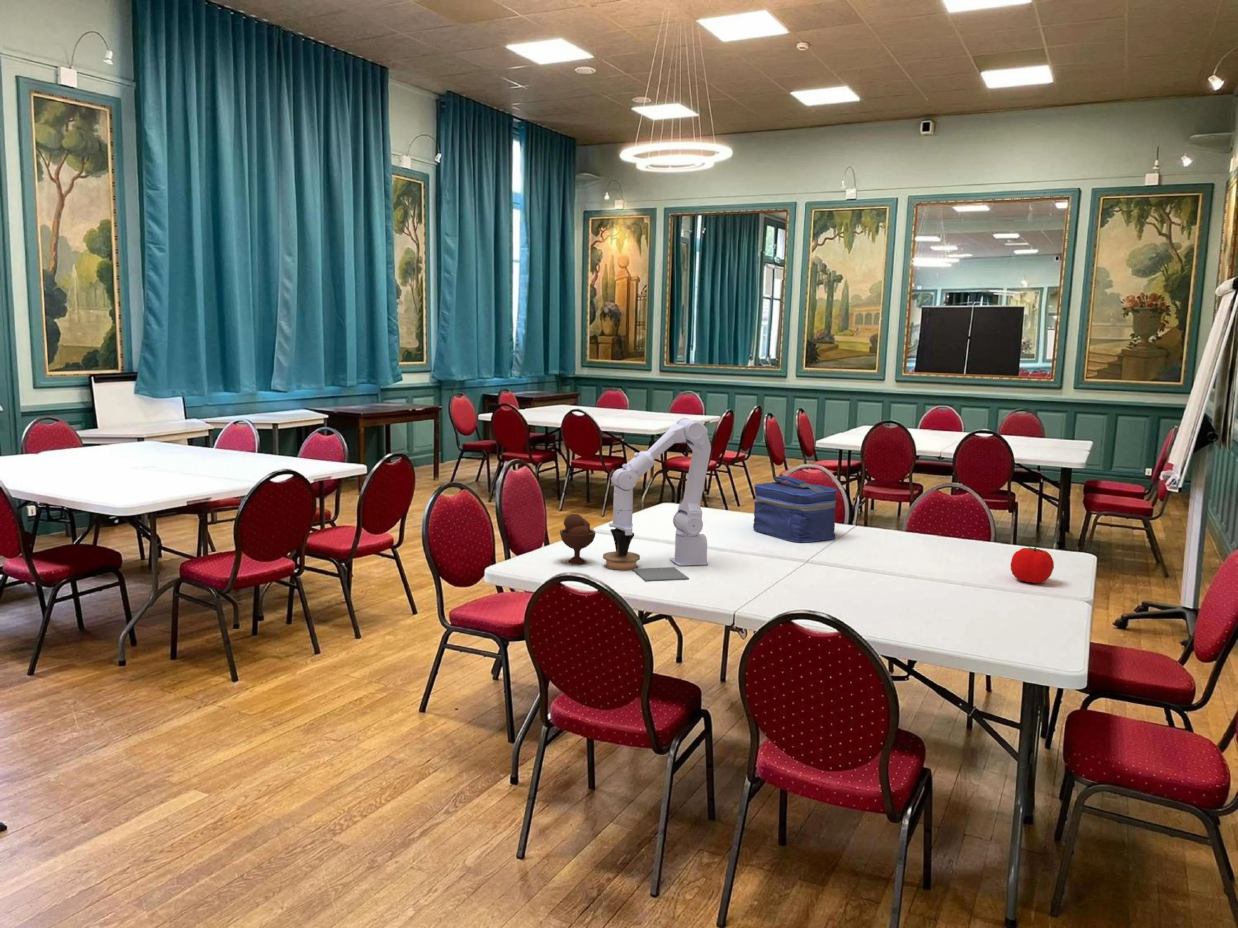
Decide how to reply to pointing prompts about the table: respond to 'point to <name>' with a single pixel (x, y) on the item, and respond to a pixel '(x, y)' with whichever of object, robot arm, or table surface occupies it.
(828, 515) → the lunch bag
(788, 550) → the table surface
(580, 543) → the ice cream bowl
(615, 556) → the lid
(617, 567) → the dish
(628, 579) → the table surface
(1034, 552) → the tomato
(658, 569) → the mat
